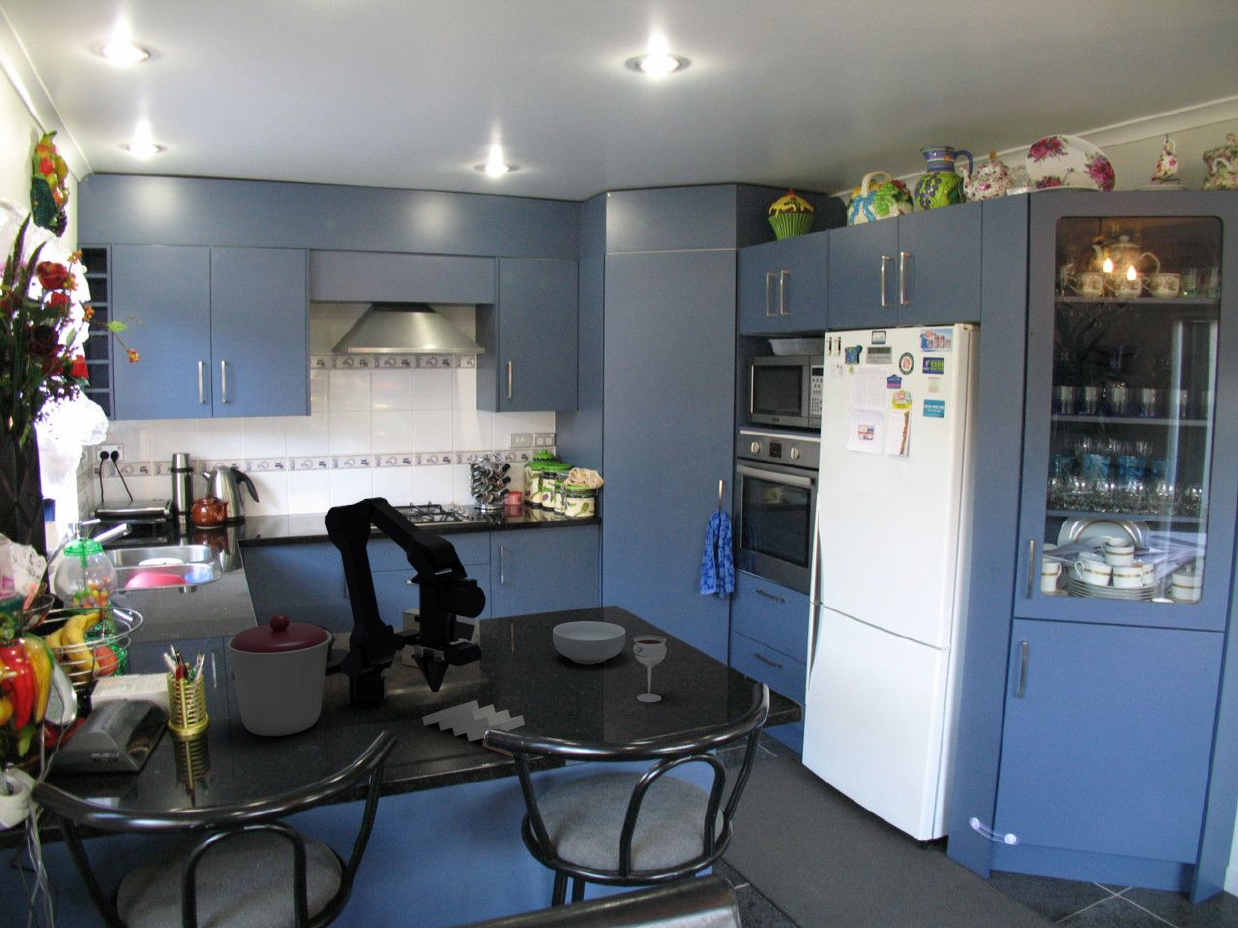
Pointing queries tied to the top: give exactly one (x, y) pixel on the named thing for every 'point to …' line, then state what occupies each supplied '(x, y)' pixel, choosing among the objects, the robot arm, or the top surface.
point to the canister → (279, 675)
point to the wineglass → (649, 658)
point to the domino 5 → (497, 750)
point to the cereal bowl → (589, 641)
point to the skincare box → (407, 624)
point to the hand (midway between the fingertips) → (435, 691)
